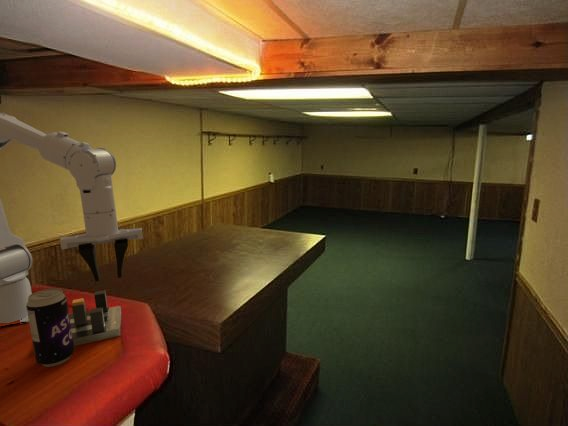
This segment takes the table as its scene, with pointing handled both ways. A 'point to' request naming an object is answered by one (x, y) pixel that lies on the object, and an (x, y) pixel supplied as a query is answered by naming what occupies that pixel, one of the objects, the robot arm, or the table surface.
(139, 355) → the table surface
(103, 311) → the panel
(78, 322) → the breaker
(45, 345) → the beverage can
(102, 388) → the table surface
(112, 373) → the table surface
